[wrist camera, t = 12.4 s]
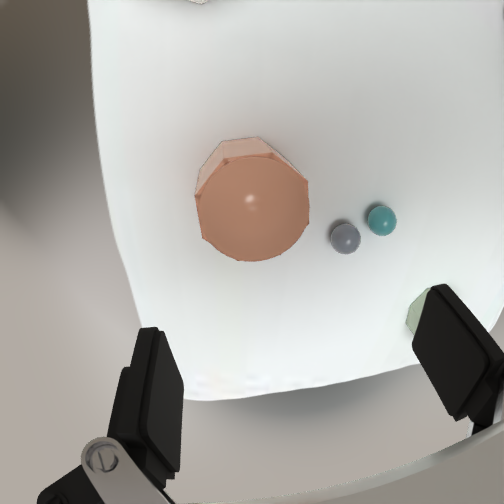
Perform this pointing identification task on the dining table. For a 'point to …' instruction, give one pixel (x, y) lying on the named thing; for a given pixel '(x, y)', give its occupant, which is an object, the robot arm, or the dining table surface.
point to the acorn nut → (416, 311)
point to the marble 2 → (382, 220)
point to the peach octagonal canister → (251, 200)
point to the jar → (199, 1)
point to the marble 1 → (345, 239)
